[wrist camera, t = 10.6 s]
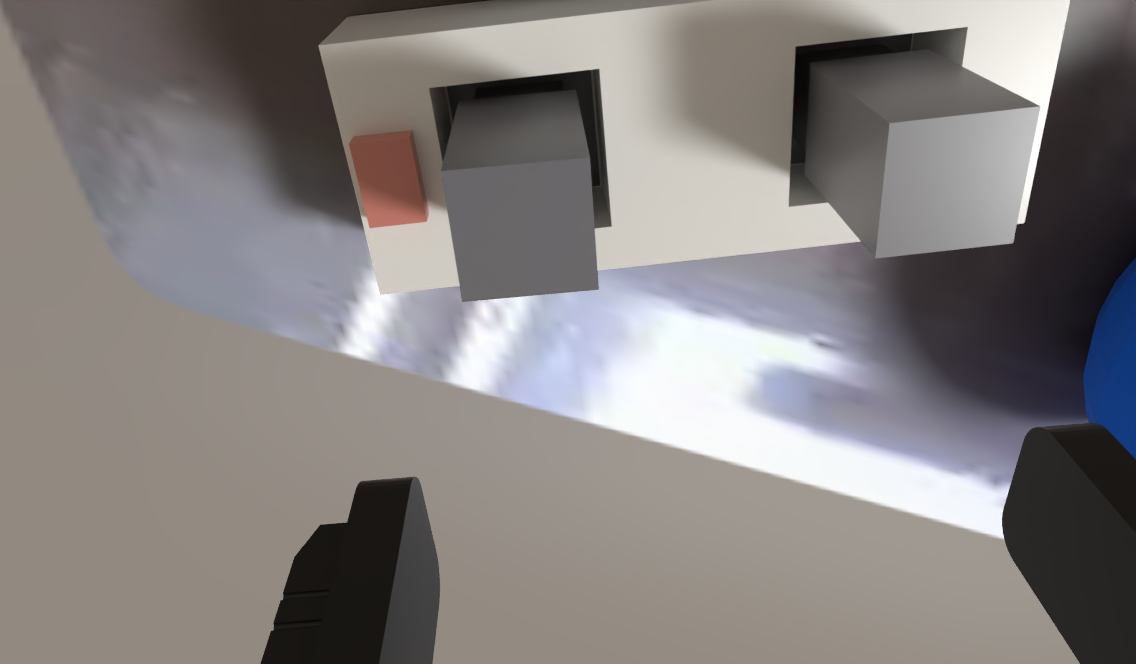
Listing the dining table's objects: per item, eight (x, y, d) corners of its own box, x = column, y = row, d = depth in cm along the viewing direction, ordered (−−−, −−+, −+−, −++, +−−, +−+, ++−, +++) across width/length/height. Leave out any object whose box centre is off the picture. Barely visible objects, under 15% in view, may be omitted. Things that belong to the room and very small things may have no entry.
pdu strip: (347, 16, 30) (312, 50, 25) (998, -59, 30) (1094, -39, 25) (398, 238, 35) (377, 304, 30) (962, 176, 34) (1035, 232, 29)
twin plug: (786, 43, 30) (889, 123, 22) (894, 31, 30) (1040, 106, 22) (782, 148, 32) (875, 258, 24) (883, 136, 32) (1012, 243, 24)
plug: (464, 78, 30) (440, 171, 22) (571, 68, 30) (590, 157, 22) (478, 180, 32) (462, 301, 24) (579, 171, 32) (598, 289, 24)
